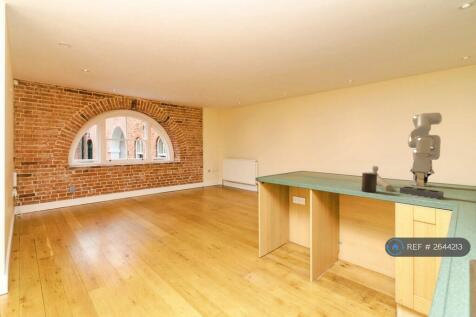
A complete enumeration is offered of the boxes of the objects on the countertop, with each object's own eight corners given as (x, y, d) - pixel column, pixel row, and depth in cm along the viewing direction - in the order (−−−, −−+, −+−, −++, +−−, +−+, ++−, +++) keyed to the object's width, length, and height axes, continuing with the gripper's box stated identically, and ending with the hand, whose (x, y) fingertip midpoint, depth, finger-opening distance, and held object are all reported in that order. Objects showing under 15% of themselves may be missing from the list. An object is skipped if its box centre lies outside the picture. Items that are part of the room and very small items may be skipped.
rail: (405, 191, 172) (405, 186, 172) (443, 197, 153) (443, 191, 153) (399, 192, 167) (399, 187, 167) (438, 199, 148) (438, 193, 148)
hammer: (393, 178, 170) (377, 165, 199) (386, 178, 171) (371, 165, 199) (390, 198, 175) (375, 182, 203) (383, 197, 176) (369, 182, 204)
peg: (418, 185, 162) (419, 171, 162) (425, 186, 159) (426, 172, 158) (416, 186, 160) (417, 172, 160) (423, 187, 157) (424, 172, 156)
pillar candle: (367, 193, 167) (369, 172, 166) (358, 190, 177) (359, 170, 176) (379, 192, 169) (380, 172, 168) (369, 189, 179) (370, 170, 178)
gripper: (440, 156, 153) (438, 183, 154) (410, 154, 167) (409, 180, 169) (435, 156, 149) (434, 184, 150) (406, 155, 163) (404, 180, 165)
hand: (421, 181), depth 159 cm, fingers closed on peg, 4 cm apart
